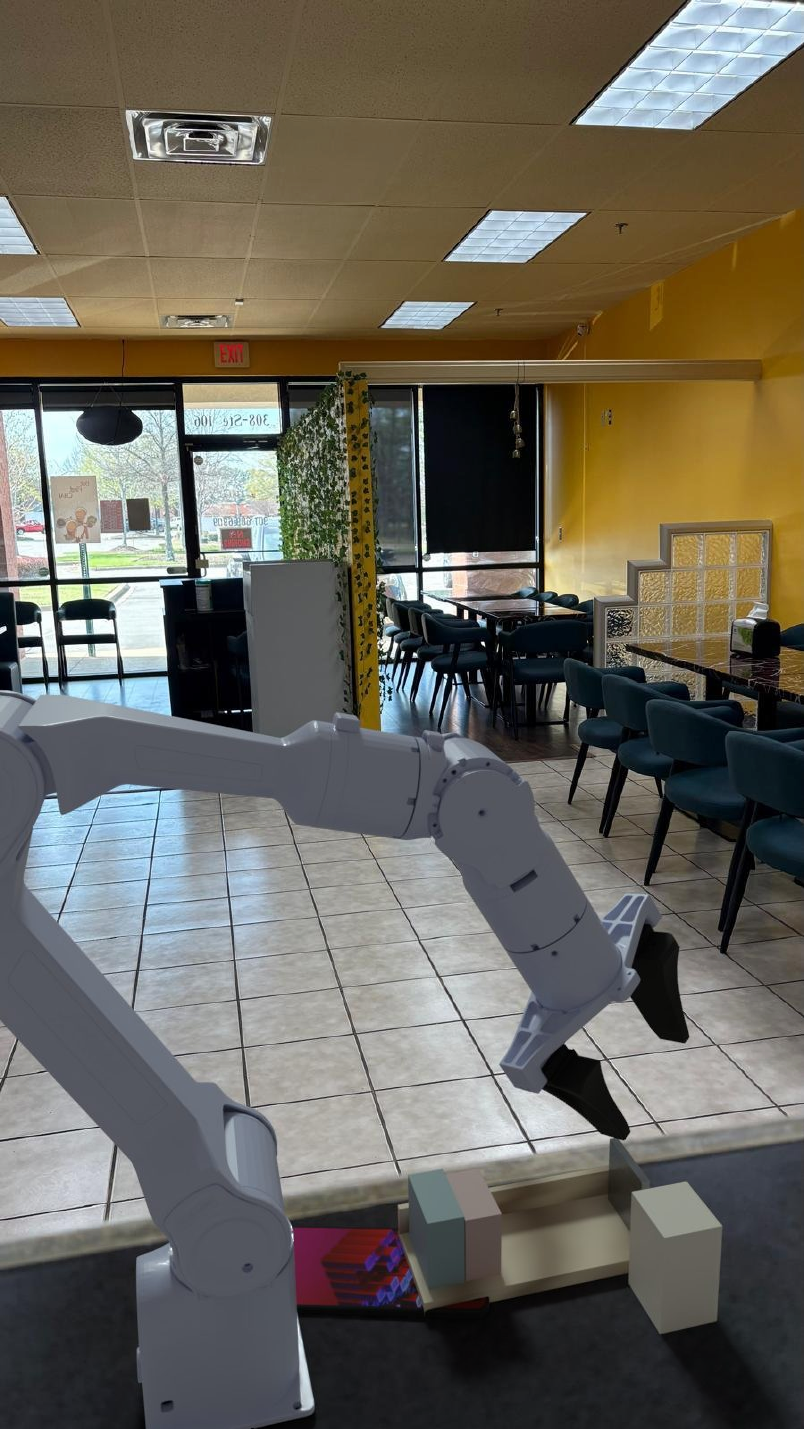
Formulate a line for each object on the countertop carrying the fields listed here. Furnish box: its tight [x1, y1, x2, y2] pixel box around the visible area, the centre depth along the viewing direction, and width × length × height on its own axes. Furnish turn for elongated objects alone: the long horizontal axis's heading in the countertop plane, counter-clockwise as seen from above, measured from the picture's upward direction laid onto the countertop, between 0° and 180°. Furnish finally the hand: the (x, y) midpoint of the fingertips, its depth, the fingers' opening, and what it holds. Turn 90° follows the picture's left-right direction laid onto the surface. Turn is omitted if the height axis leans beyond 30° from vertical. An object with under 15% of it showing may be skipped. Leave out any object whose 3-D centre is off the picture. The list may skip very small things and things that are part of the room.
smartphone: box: [292, 1225, 491, 1320], centre depth 70 cm, size 8×1×15 cm
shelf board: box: [397, 1165, 630, 1316], centre depth 71 cm, size 18×7×3 cm, turn 104°
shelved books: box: [407, 1168, 502, 1290], centre depth 69 cm, size 5×5×5 cm
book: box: [627, 1181, 723, 1335], centre depth 66 cm, size 4×4×7 cm
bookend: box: [608, 1137, 651, 1231], centre depth 72 cm, size 1×5×5 cm, turn 14°
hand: (646, 1083), depth 63 cm, fingers open, 7 cm apart
